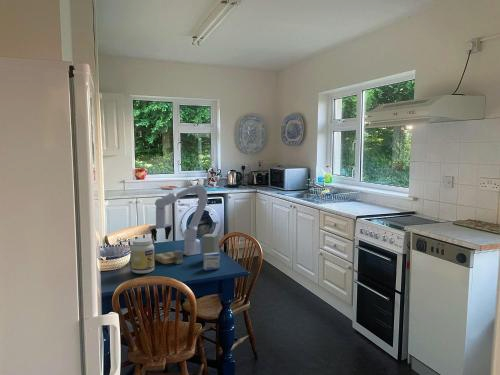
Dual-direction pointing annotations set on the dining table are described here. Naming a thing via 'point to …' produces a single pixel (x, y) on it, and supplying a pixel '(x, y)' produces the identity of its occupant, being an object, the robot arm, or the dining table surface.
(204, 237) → the skincare box
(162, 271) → the dining table surface
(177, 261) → the column
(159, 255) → the green-striped tan block
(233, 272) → the dining table surface
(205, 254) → the medicine box
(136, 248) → the supplement tub
